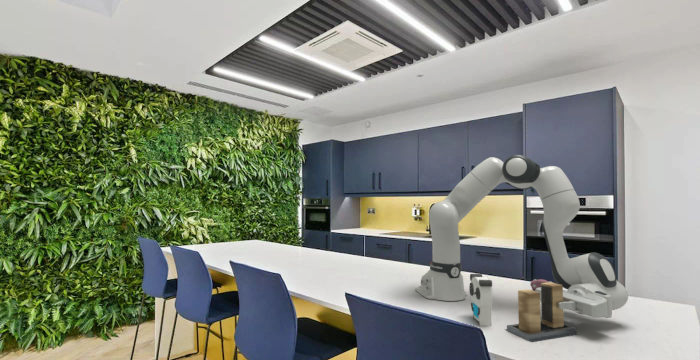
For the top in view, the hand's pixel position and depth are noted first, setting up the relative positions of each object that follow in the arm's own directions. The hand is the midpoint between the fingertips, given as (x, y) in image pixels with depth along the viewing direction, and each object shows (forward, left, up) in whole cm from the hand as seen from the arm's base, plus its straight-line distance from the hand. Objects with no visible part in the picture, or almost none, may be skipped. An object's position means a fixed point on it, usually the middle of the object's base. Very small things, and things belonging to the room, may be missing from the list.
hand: (549, 302), depth 105 cm
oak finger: (0, +1, -6) cm, 7 cm away
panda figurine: (-13, -14, -9) cm, 21 cm away
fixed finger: (0, -8, -8) cm, 11 cm away
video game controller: (-37, +39, -9) cm, 54 cm away
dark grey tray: (0, -4, -9) cm, 10 cm away
